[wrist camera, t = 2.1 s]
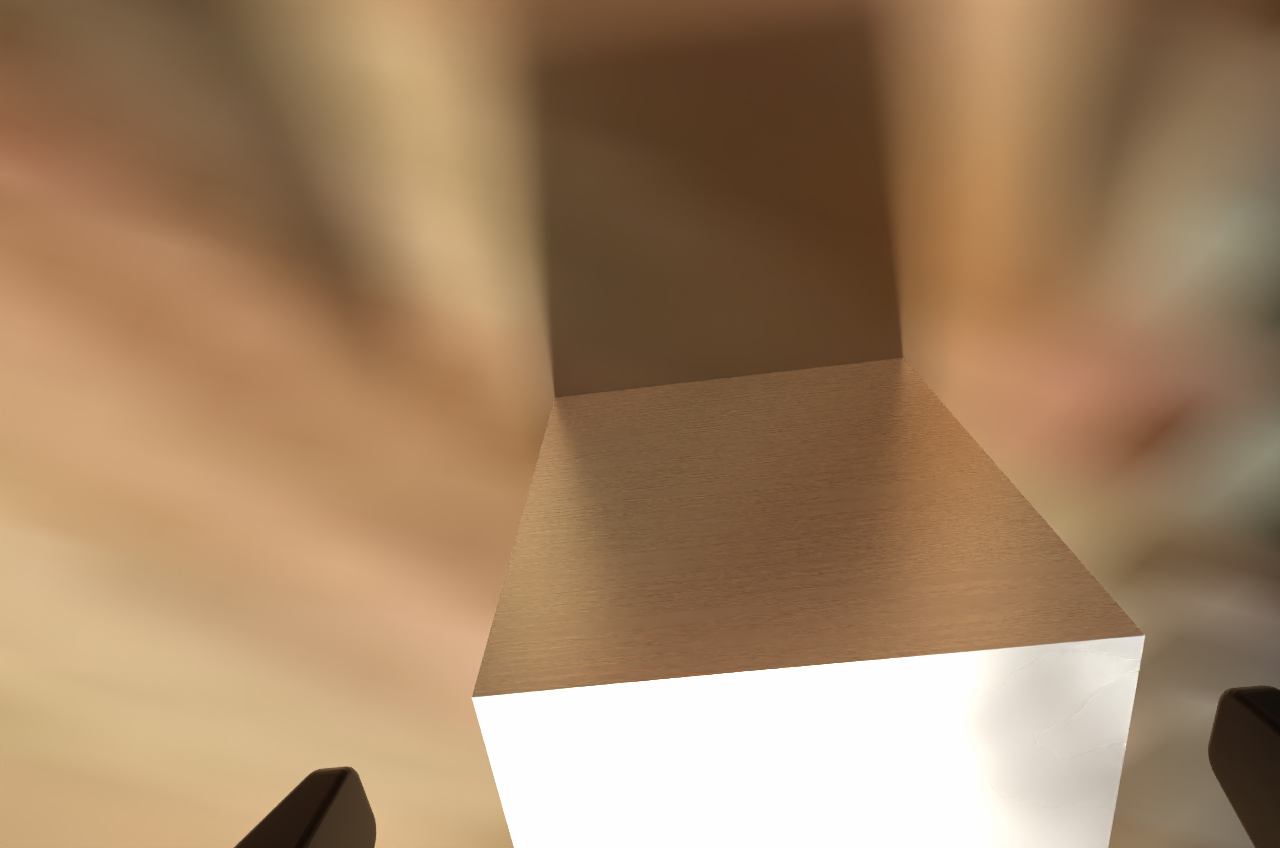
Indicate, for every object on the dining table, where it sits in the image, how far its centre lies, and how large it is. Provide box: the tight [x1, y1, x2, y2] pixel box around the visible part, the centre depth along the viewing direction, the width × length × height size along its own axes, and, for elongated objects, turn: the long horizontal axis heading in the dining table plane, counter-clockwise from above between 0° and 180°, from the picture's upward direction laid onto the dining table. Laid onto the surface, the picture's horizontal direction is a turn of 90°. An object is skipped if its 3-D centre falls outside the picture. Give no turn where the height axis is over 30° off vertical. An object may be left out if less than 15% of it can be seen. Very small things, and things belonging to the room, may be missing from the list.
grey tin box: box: [472, 358, 1145, 848], centre depth 10 cm, size 5×5×6 cm
